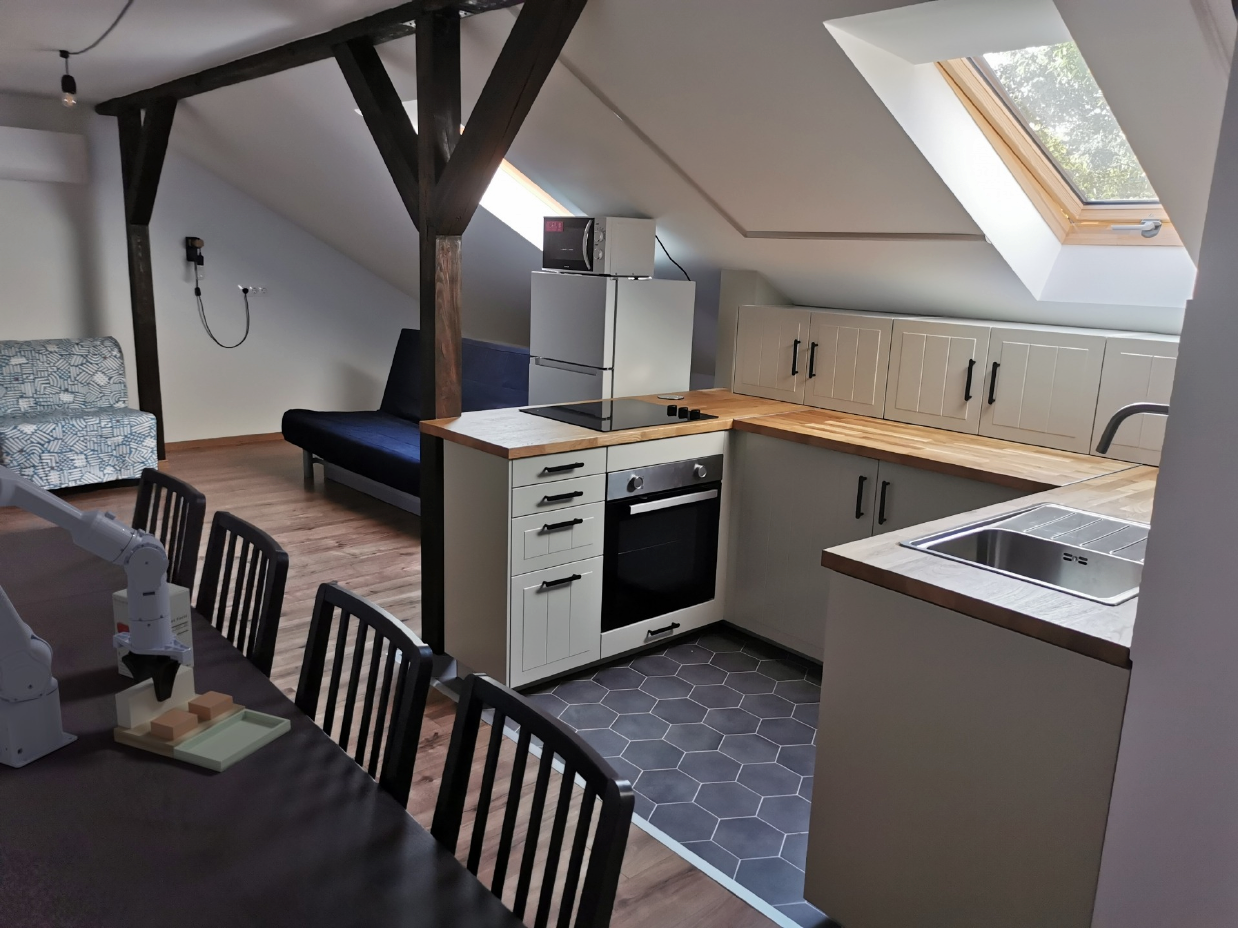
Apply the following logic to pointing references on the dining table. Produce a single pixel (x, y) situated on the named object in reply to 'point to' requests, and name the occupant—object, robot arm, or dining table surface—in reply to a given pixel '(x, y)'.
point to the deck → (164, 746)
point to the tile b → (210, 705)
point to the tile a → (174, 724)
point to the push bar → (152, 699)
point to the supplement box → (178, 620)
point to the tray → (232, 740)
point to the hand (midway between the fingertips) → (156, 697)
